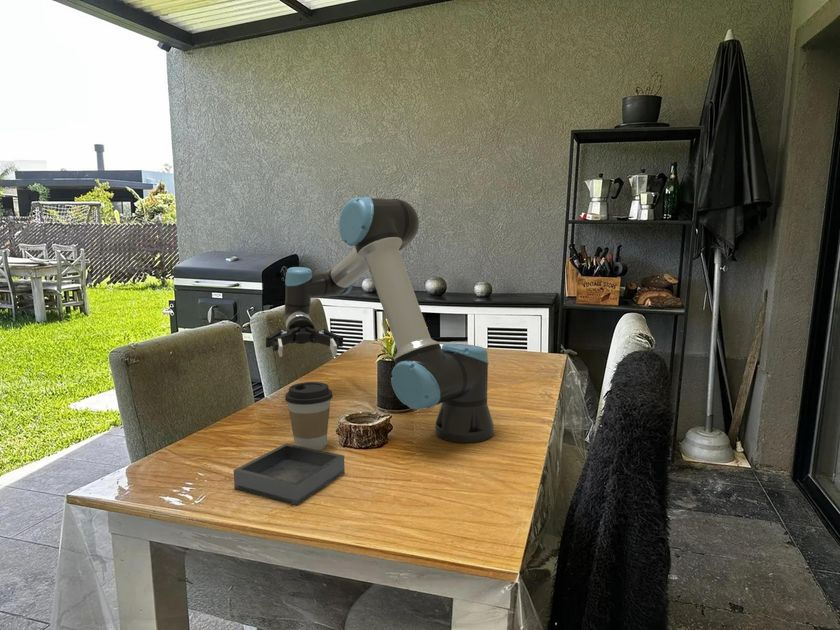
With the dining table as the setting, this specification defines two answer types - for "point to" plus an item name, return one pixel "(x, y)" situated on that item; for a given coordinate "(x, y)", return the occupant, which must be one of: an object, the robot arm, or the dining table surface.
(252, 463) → the square tray
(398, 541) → the dining table surface
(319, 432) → the coffee cup
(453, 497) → the dining table surface
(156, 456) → the dining table surface
